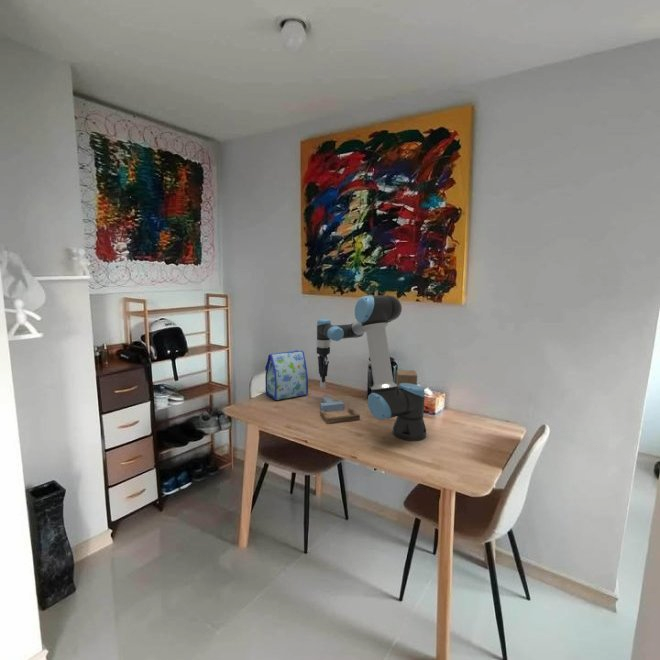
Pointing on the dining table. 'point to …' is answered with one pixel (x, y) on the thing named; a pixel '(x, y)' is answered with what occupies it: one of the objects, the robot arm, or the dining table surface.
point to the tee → (331, 405)
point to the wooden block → (406, 377)
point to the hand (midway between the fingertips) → (322, 387)
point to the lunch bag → (286, 375)
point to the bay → (341, 417)
